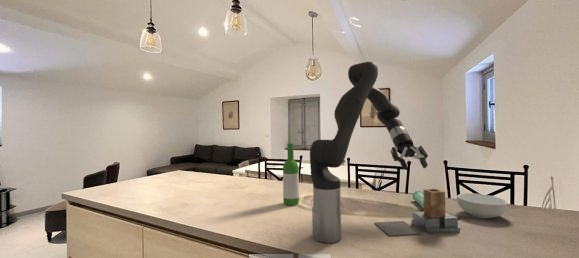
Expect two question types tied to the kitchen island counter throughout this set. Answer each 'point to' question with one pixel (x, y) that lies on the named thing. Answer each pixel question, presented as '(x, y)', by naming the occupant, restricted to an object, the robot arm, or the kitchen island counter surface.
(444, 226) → the vise
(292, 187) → the wine bottle
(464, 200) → the cereal bowl
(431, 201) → the sleeve
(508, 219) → the kitchen island counter surface
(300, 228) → the kitchen island counter surface
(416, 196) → the pale green hexagonal rod
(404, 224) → the mat
